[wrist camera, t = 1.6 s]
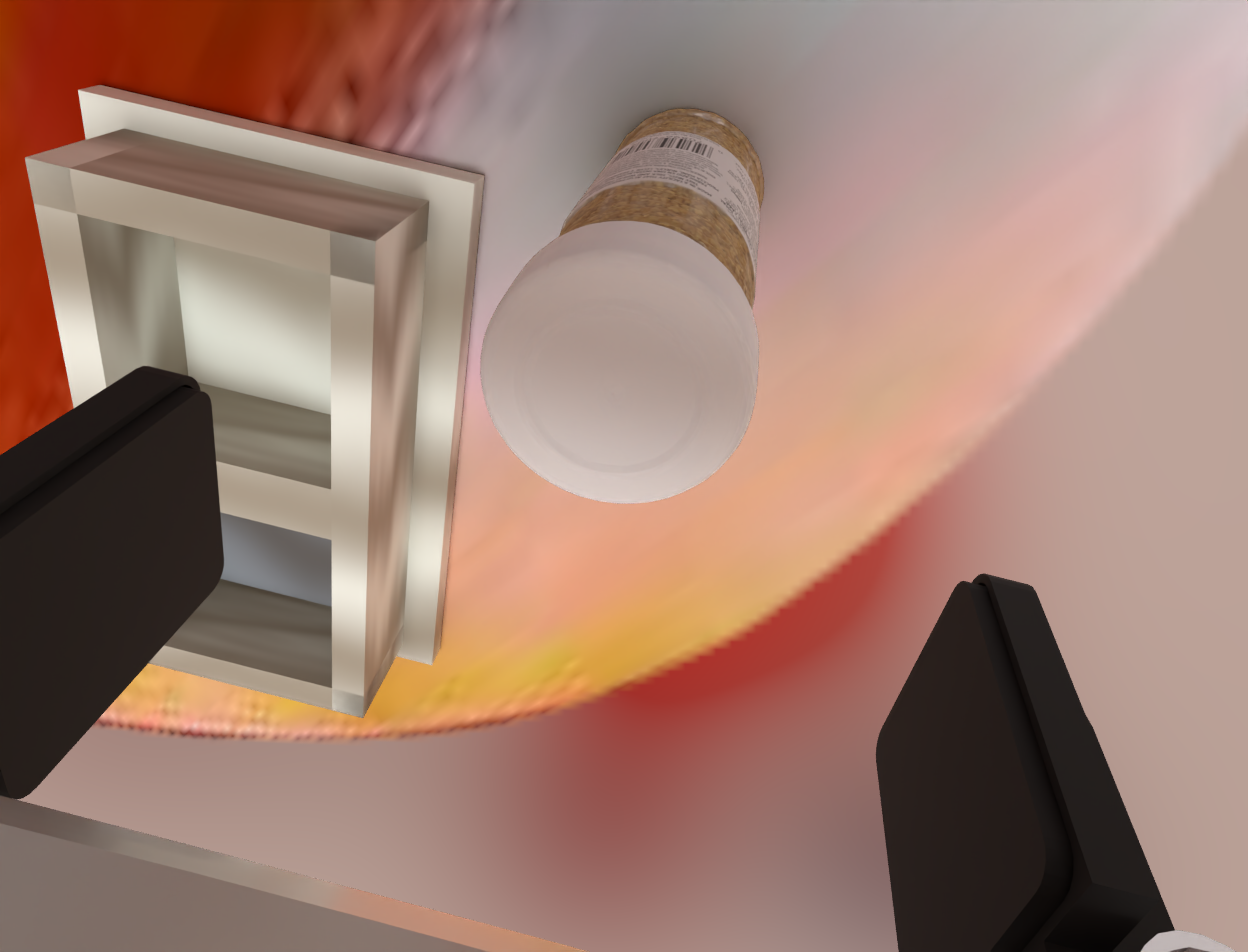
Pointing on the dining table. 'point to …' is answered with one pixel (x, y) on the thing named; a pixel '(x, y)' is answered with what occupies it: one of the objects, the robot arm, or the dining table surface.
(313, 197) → the slot rack
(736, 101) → the dining table surface
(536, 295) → the sprinkles bottle
